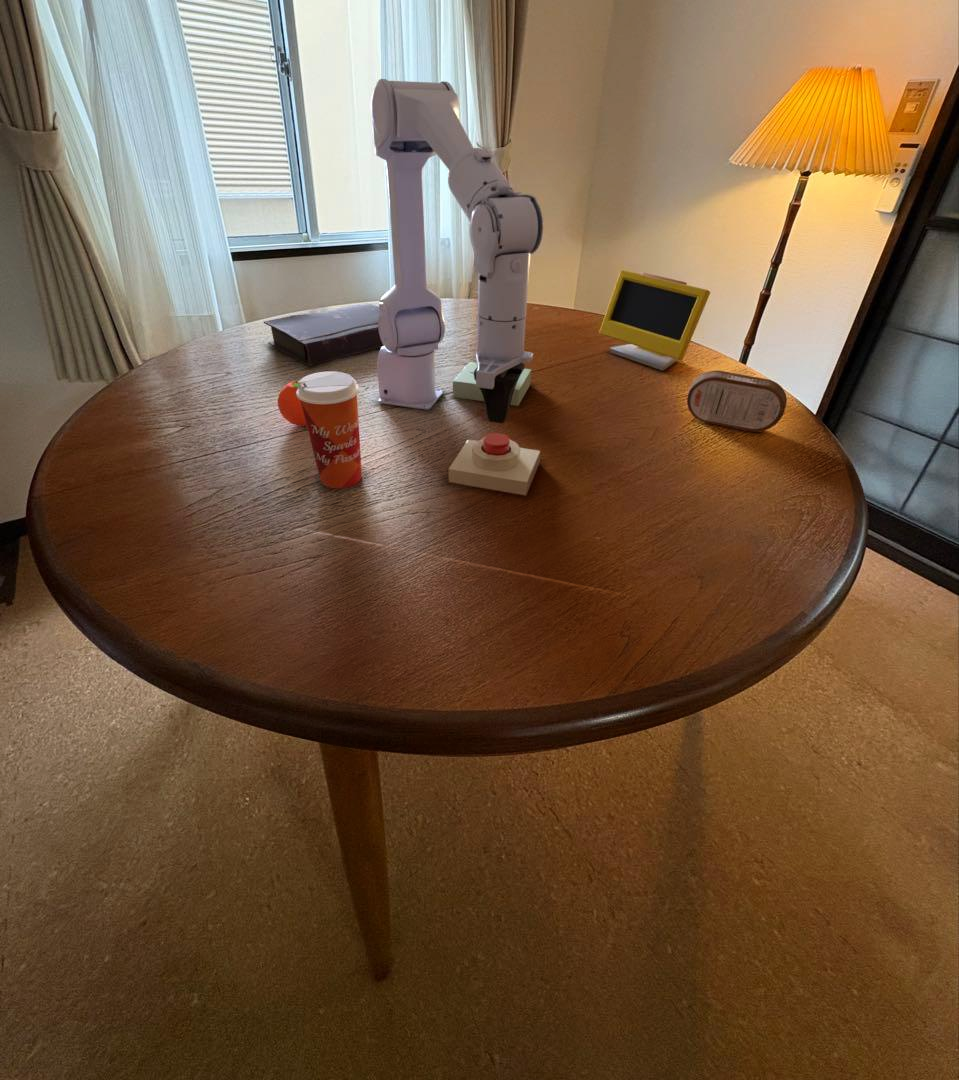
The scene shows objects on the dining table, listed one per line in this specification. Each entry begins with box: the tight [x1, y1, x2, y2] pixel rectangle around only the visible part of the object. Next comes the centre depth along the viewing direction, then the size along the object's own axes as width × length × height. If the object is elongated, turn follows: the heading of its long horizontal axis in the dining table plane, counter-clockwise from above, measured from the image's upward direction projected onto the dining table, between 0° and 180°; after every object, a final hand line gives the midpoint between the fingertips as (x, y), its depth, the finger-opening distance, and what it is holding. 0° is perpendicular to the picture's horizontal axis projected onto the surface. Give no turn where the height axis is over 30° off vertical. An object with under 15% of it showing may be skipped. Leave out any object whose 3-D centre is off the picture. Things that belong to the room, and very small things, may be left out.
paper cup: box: [296, 370, 362, 489], centre depth 74 cm, size 8×8×14 cm
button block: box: [448, 437, 541, 496], centre depth 79 cm, size 11×9×4 cm
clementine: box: [277, 380, 307, 427], centre depth 88 cm, size 8×7×7 cm
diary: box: [263, 302, 384, 367], centre depth 120 cm, size 19×25×5 cm
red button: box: [483, 432, 511, 456], centre depth 77 cm, size 4×4×2 cm
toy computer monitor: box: [598, 269, 711, 372], centre depth 113 cm, size 20×8×16 cm, turn 41°
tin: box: [686, 369, 788, 433], centre depth 91 cm, size 15×3×8 cm, turn 65°
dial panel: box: [452, 361, 532, 407], centre depth 102 cm, size 12×10×3 cm
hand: (497, 419), depth 75 cm, fingers closed
